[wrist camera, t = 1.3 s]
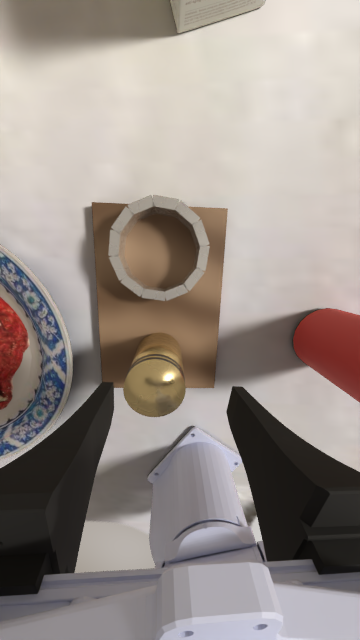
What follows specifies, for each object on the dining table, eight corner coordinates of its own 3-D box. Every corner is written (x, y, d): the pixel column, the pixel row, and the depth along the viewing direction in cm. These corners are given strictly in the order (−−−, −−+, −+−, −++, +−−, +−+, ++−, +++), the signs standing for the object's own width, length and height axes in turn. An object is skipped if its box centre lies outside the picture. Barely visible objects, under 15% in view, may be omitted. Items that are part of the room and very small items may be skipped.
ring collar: (168, 312, 22) (167, 318, 19) (98, 259, 20) (89, 258, 18) (221, 245, 21) (228, 243, 18) (151, 184, 19) (149, 172, 17)
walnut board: (212, 383, 25) (214, 387, 24) (105, 382, 24) (102, 387, 23) (224, 211, 21) (227, 208, 20) (95, 205, 20) (91, 202, 19)
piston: (163, 381, 24) (160, 427, 17) (128, 356, 23) (110, 395, 16) (190, 349, 23) (198, 385, 16) (155, 323, 22) (148, 349, 15)
